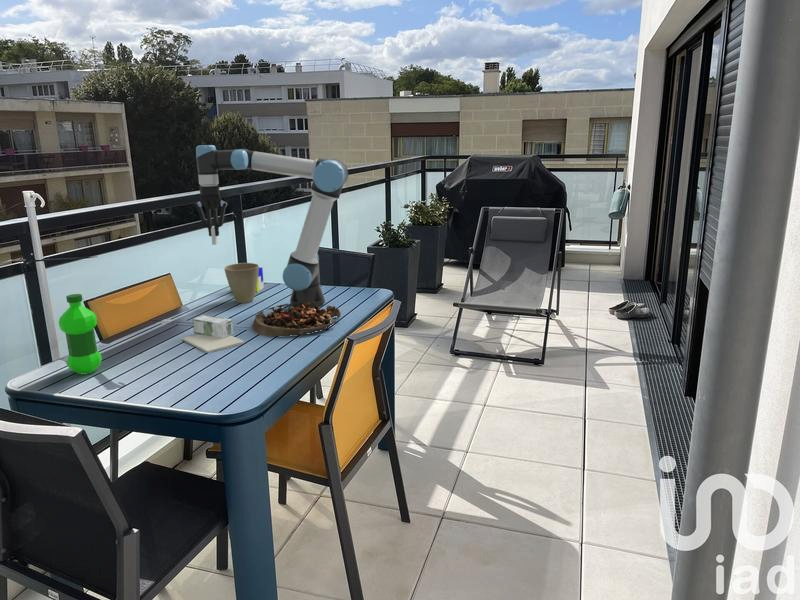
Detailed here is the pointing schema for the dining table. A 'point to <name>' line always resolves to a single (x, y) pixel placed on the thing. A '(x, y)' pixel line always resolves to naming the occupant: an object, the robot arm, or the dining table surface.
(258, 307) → the dining table surface
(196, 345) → the mat
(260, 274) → the puzzle toy
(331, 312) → the food dish
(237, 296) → the plant pot
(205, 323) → the syrup box
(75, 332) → the plastic bottle
